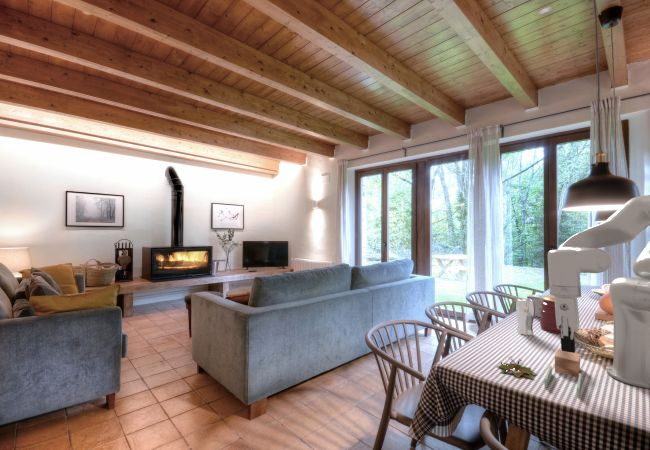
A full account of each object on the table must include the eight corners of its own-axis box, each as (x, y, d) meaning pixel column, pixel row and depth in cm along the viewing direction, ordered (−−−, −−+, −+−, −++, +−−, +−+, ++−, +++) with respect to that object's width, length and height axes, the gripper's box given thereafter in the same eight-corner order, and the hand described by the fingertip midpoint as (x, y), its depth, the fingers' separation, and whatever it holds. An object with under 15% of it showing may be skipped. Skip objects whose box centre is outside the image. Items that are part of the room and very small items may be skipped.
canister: (570, 337, 132) (571, 296, 132) (536, 329, 142) (536, 291, 142) (578, 331, 140) (578, 292, 141) (544, 323, 150) (544, 288, 151)
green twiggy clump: (541, 385, 91) (541, 369, 91) (495, 375, 97) (495, 361, 97) (536, 369, 102) (536, 355, 102) (495, 361, 108) (495, 348, 108)
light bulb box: (550, 315, 165) (550, 296, 165) (551, 318, 159) (551, 298, 159) (526, 312, 171) (526, 293, 171) (527, 315, 165) (527, 295, 165)
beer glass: (538, 334, 134) (538, 300, 134) (527, 336, 132) (527, 302, 132) (522, 329, 141) (523, 297, 141) (512, 331, 138) (512, 298, 138)
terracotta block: (579, 369, 102) (580, 354, 102) (578, 377, 96) (578, 361, 96) (557, 363, 106) (557, 349, 106) (554, 371, 100) (554, 356, 100)
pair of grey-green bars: (581, 381, 93) (581, 373, 93) (579, 397, 84) (579, 388, 84) (549, 373, 98) (549, 365, 98) (544, 387, 89) (544, 378, 89)
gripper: (579, 297, 84) (583, 363, 84) (582, 287, 95) (585, 345, 95) (546, 294, 89) (549, 356, 89) (552, 284, 100) (555, 340, 100)
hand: (568, 350), depth 92 cm, fingers closed
